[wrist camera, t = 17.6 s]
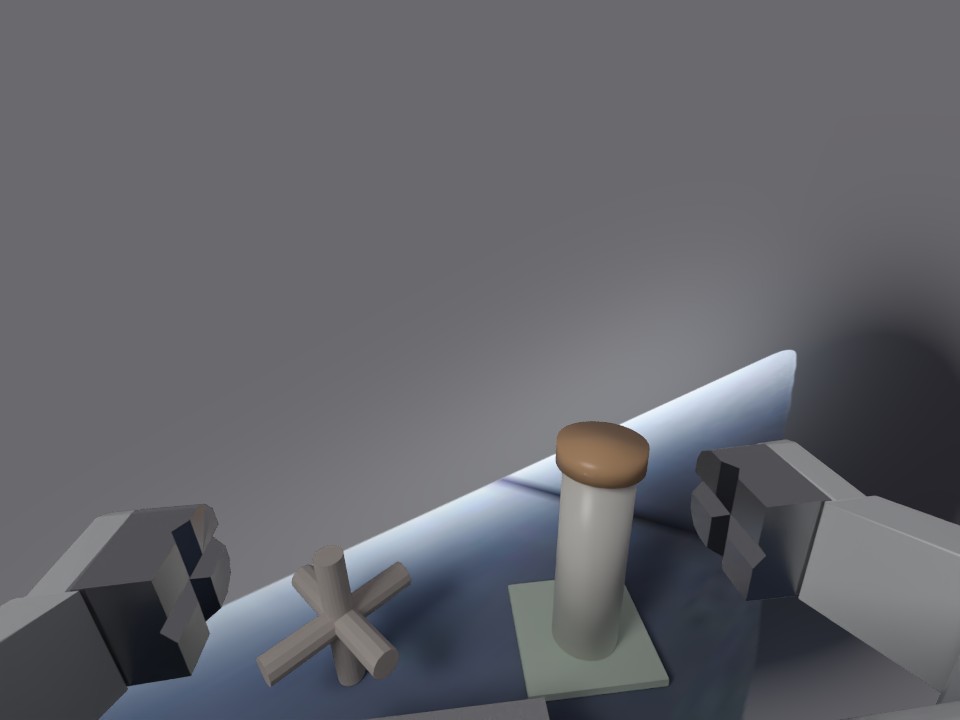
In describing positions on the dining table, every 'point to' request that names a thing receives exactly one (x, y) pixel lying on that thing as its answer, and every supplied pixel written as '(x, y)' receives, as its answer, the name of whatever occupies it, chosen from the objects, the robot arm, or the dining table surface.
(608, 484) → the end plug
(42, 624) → the robot arm
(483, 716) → the housing block
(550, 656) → the rubber mat
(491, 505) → the dining table surface
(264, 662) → the pipe connector
